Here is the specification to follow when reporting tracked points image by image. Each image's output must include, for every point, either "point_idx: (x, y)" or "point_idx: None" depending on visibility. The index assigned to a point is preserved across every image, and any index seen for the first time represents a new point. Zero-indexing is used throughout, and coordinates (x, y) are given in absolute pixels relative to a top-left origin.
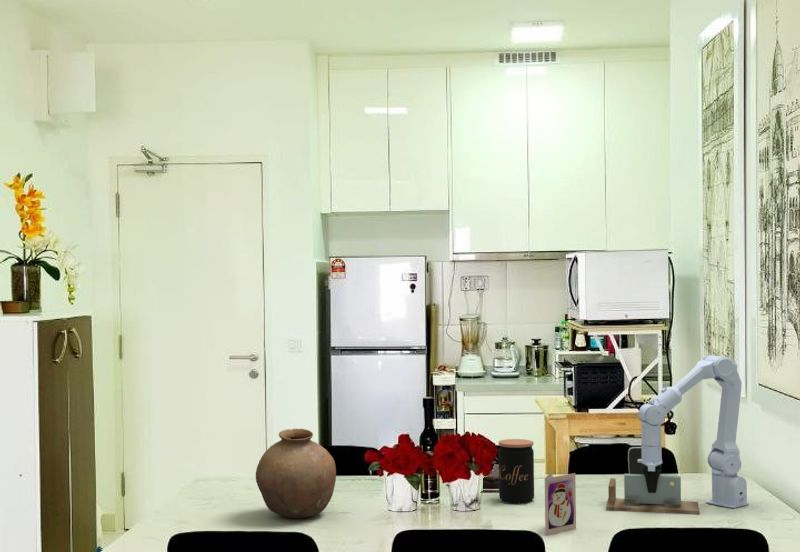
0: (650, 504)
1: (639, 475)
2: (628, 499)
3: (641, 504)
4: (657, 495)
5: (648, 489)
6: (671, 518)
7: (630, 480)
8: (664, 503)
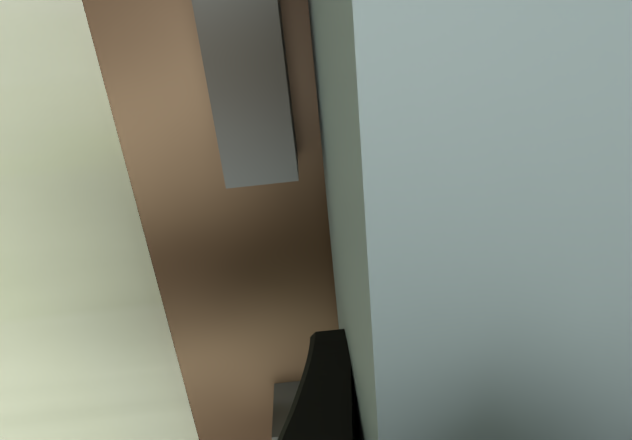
0: None
1: (471, 406)
2: (199, 20)
3: None
4: None
5: (306, 366)
6: (15, 431)
7: (340, 78)
8: None
